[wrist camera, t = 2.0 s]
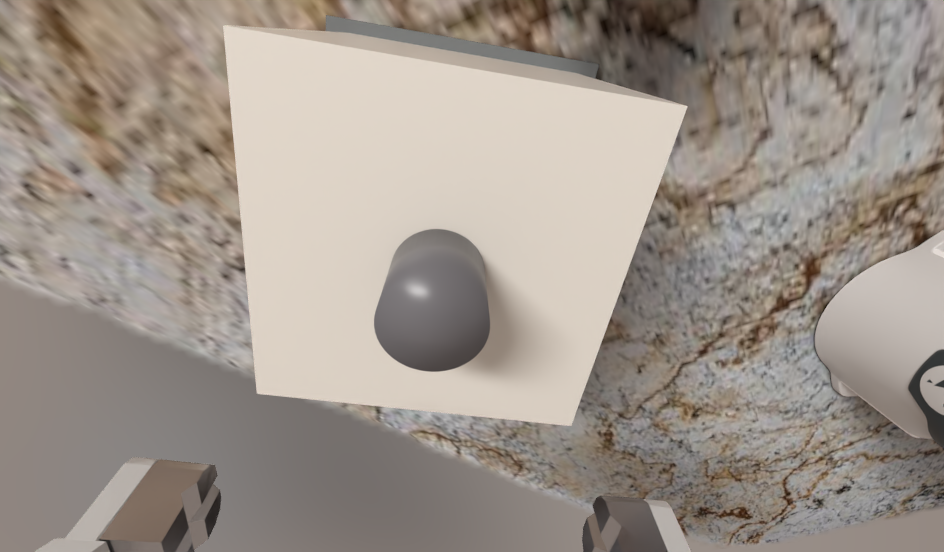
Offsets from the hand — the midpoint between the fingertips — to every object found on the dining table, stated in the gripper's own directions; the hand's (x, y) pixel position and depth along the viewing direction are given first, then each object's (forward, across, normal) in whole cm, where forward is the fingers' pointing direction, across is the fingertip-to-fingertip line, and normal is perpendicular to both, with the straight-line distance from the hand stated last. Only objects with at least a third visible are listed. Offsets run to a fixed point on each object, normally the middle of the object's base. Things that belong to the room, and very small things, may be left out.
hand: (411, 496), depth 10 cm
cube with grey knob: (+28, 0, 0) cm, 28 cm away
